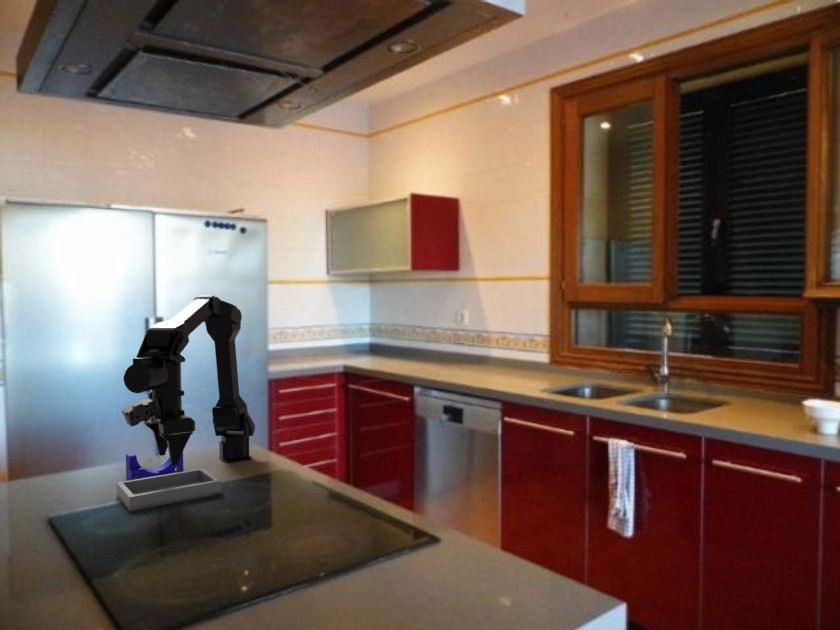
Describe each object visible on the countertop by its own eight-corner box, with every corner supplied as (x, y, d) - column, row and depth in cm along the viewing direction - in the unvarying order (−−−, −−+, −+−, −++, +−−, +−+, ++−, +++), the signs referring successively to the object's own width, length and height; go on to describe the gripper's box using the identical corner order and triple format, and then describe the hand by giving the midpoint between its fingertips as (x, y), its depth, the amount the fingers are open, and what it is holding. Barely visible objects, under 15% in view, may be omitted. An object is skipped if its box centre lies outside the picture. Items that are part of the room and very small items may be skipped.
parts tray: (203, 481, 146) (203, 468, 146) (221, 494, 137) (221, 480, 137) (116, 496, 136) (116, 482, 136) (129, 512, 126) (129, 497, 126)
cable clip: (131, 484, 145) (131, 457, 145) (126, 479, 149) (125, 453, 149) (185, 474, 153) (185, 449, 153) (179, 470, 156) (178, 445, 156)
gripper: (115, 384, 138) (117, 456, 139) (136, 395, 123) (137, 476, 123) (169, 379, 145) (170, 449, 145) (195, 389, 129) (196, 467, 130)
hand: (168, 459), depth 136 cm, fingers open, 9 cm apart
